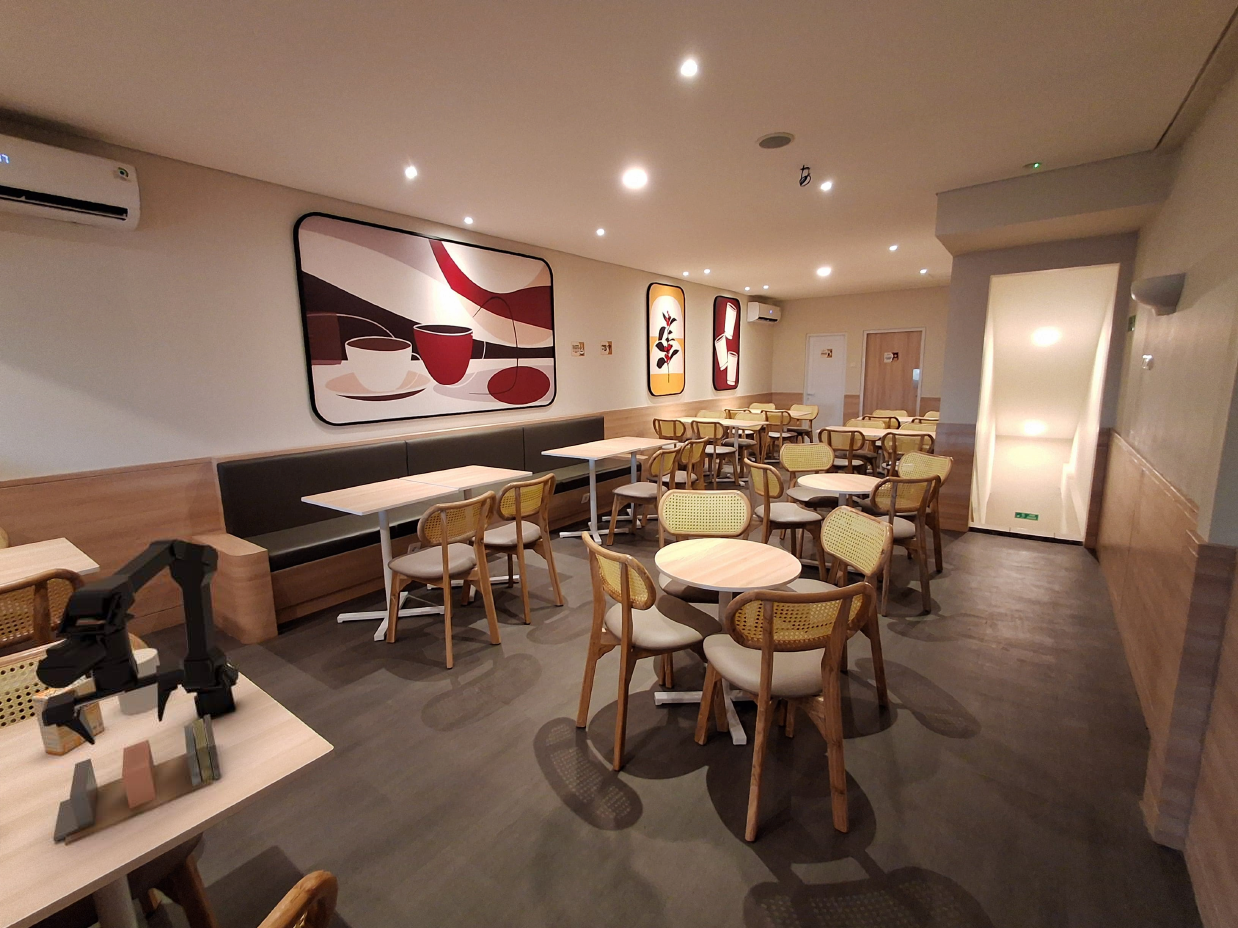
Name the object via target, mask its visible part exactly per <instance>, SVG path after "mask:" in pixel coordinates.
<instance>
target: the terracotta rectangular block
mask: <svg viewBox="0 0 1238 928" xmlns="http://www.w3.org/2000/svg"><path fill="white" fill-rule="evenodd" d="M151 749H152V748H151V744H150V740H149V739H146V740H143V741H141V742H138V743H135V744H133V745H130V746H127V747H126V746H125V747H124V748H123V752H122V754H123V755H122V768H121V769H122V772H121V773H122V776H121V778H123V781H124V785H125V790H126V794H127V798H128V802H129V807H130V809H131V808H133V807H136V806H138V805H141V804H143V803H146V802H148V801H150V800H153V799H155V798H156V777H155V767H154V765H155V762H154V760H153V759H154V758H153V753H152V750H151Z"/></svg>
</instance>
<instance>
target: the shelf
mask: <svg viewBox="0 0 1238 928" xmlns="http://www.w3.org/2000/svg"><path fill="white" fill-rule="evenodd" d="M204 721H205V722H203V719H201V718H200V719H197V720H194V721H192V723H190V724H189V723H188V724H187V725H184V726H183V732H184V741H185V749H186V753H183V754H180V755H178V756H175V757H173V758H172V757H171V758H170V759H168V760H165V761H163V762H159V763H157V764H154V767H155V777H156V798H155V799H153V800H150V801H148V802H146V803H143V804H141V805H138V806H136V807H133V808H131V809H130V807H129V802H128V798H127V794H126V790H125V785H124V781H123V777H121V778H118V779H115V780H112V781H110V782H107V783H104V784H101V785H99V786H97V787H98V800H97V809H96V818H95V825H93V826H91V827H88V828H86V829H83V830H81V831H78V832H76V833H74V834H71V835H69V836H66V837H65V841H64V845H65V846H67V845H70V844H73V843H75V842H77V841H80V840H82V839H84V838H87V837H90V836H91V835H94V834H97V833H99V832H101V831H103V830H106V829H108V828H111V827H113V826H116V825H118V824H119V823H123V822H124V821H127V820H129V819H132V818H134V817H137V816H139V815H142V814H144V813H147V812H149V811H151V810H153V809H156V808H158V807H161V806H163V805H165V804H167V803H170V802H172V801H176V800H177V799H180V798H182V797H185V796H186V795H189V794H191V793H194V792H196V791H198V790H201V789H203V788H206V787H208V786H210V785H213V779H212V778H214V779H217V778H220V777H222V774H221V773H222V771H221V768H220V762H219V756H218V751H217V745H216V740H215V735H214V730H213V724H212V719H211V718H210V714H208V715H205V716H204Z"/></svg>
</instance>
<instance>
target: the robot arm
mask: <svg viewBox="0 0 1238 928" xmlns="http://www.w3.org/2000/svg"><path fill="white" fill-rule="evenodd" d="M218 561H219V554H218V551H217V549H216V548H214V547H213V546H212V545H210V544H198V543H194V542H188V541H185V540H184V539H183V540H182V539H179V538H171V539H169V538H167V539H157V540H154V541H151V542H150V544H149V545H148V547H147V548H145V550H143V551H142V552H141V553H139V554H138V555H136V556H135V557H134V558H133V559H131V560H130V561H129V562H127V563H126V564H124V565H123V566H122V567H121V568H120V569H118V570H117V571H116V572H114V573H113V574H112V575H110V576H108V577H105V578H103V579H99V580H96V581H92V582H90V583H88V584H86V585H84V586H82V587H80V588H79V589H76V590H75V591H74V592H73V593H72V594H70V596H69V598H68V601H66V604H65V608H64V610H63V614H62V616H61V618H60V622H59V625H58V628H57V631H56V634H55V639H64V640H62V641H60V642H58V643H57V644H54V645H51V646H50V647H47V648H45V649H46V650H45V654H46V656H45V657H44V658H42V659H41V660H40V661H39V663H37V666H36V669H35V675H36V677H37V679H38V681H39V682H41V683H42V684H43V685H44V686H46V687H48V688H57V689H60V688H65V687H68V686H70V685H71V684H73V683H74V682H76V681H77V680H78V679H80V678H81V677H83V676H85V678H86V679H90V678H92V679H93V683H94V687H95V691H93V692H89V693H86V694H83V695H79V696H78V692H77V690H76V689H75V690H72V691H68V692H65V693H62V694H58V695H55V696H51V697H49V698H48V699H47V700H46V701H45V703H44V706H43V710H42V720H43V724H44V726H51V725H55V724H56V727H62V726H66V727H67V728H69V729H71V730H73V731H74V732H76V733H78V734H79V735H80V736H81V737H83V738H84V739H85V740H86V741H85V742H87V743H89V744H90V745H91V746H93V745H94V746H95V744H96V739H95V735H94V733H93V731H92V729H91V726H90V724H89V721H88V719H87V717H86V714H85V711H84V707H83V706H85V705H88V704H91V703H95V702H98V701H99V702H101V701H104V700H107V699H110V698H114V697H116V696H117V697H118V695H121V694H124V693H127V692H130V691H134V690H137V689H140V688H143V687H146V686H150V685H153V684H156V683H157V705H158V706H157V719H158V722H159V723H161V722H162V721H163V718H164V714H165V710H166V705H167V703H168V700H169V698H170V696H171V694H172V692H174V691H177V690H178V689H179V686H181V688H183V689H184V691H185V692H186V694H187V695H188V694H194V693H196V694H195V695H194V696H193V699H194V706H195V711H196V715H197V718H200V719H203V722H204V723H205V721H204V716H205V715H208V714H210V718H211V720H213V719H216V718H219V717H221V716H222V717H223V716H224V715H226V714H230V713H232V712H235V711H236V710H237V706H236V702H235V699H234V695H233V689H232V687H234V686H236V685H237V684H238V682H237V681H238V680H239V673H240V671H239V669H238V668H235V667H233V666H231V665H229V664H228V659H227V655H226V654H225V652H223V651H222V649H221V648H220V647H219V646H218V645H217V643H216V642H217V641H216V635H215V625H214V624H215V623H214V615H213V614H214V613H213V605H212V604H213V603H212V602H213V601H212V594H211V581H212V580H213V578H214V576H215V575H216V572H217V571H218ZM165 568H168V570H169V575H170V577H171V579H172V580H173V581H174V582H175V583H176V585H178V586H179V588H180V589H181V596H182V605H183V614H184V623H185V624H184V625H185V633H186V634H185V635H186V642H187V643H186V645H187V653H186V655H185V657H183V660H181V659H175V660H171V661H169V662H164V663H161V664H160V665H157V666H156V673H153V674H150V675H146V676H143V677H140V678H138V674H139V670H138V665H137V661H136V659H135V658H134V653H133V652H132V651H133V648H132V644H131V639H130V634H129V631H128V626H127V625H128V624H127V623H128V622H130V621H132V620H133V619H135V617H136V616H135V614H134V613H129V612H128V611H129V610H130V609H131V607H132V606H133V605H134V604H135V603H136V599H137V598H136V594H137V593H138V592H139V591H140V590H141V589H142V588H143V587H144V586H145V585H147V584H148V583H149V582H151V580H153V579H154V578H155V577H156V576H157V575H158V574H160V573H161V572H162V571H163V570H164V569H165ZM86 622H89V624H88V623H87V624H77V623H86ZM90 622H97V623H90Z"/></svg>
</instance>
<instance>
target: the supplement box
mask: <svg viewBox="0 0 1238 928" xmlns="http://www.w3.org/2000/svg"><path fill="white" fill-rule="evenodd" d="M75 689H76V690H77V692H78V696H79V695H83V694H86V693H89V692H93V691H95V687H94V683H93V679H92V678H90V679H86V678H85V675H84V676H83V677H81V678H80V679H78V680H77V681H76V682H74V683H73V684H71V685H70V686H68V687H65V688H60V689H57V688H51V687H49V688H48V689H46V690H44V691H42V692H41V693H38V694H36V695H34V696H32V697H31V699H32V702H33V707H34V711H35V714H36V718H37V722H38V726H39V731H40V735H41V739H42V743H43V746H44V750H45V753H48V754H54V755H59V756H63V755H65V754H67V753H68V752H70V751H71V750H73V749H74V748H76V747H78V746H79V745H81V744H82V743H84V742H87V741H86V740H85V739H84V738H83V737H81V736H80V735H79V734H78V733H76V732H74V731H73V730H71V729H69V728H67V727H66V726H62V727H56V724H55V725H51V726H44V724H43V720H42V710H43V706H44V703H45V701H46V700H47V699H48V698H49V697H51V696H55V695H58V694H62V693H65V692H68V691H72V690H75ZM83 707H84V711H85V714H86V717H87V719H88V721H89V724H90V726H91V729H92V731H93V733H94V736H96V735H97V734H99V733H101V732H103V731H104V730H105V729H106V727H105V723H104V719H103V716H102V712H101V711H102V710H101V706H100V701H98V702H95V703H91V704H88V705H85V706H83Z"/></svg>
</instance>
